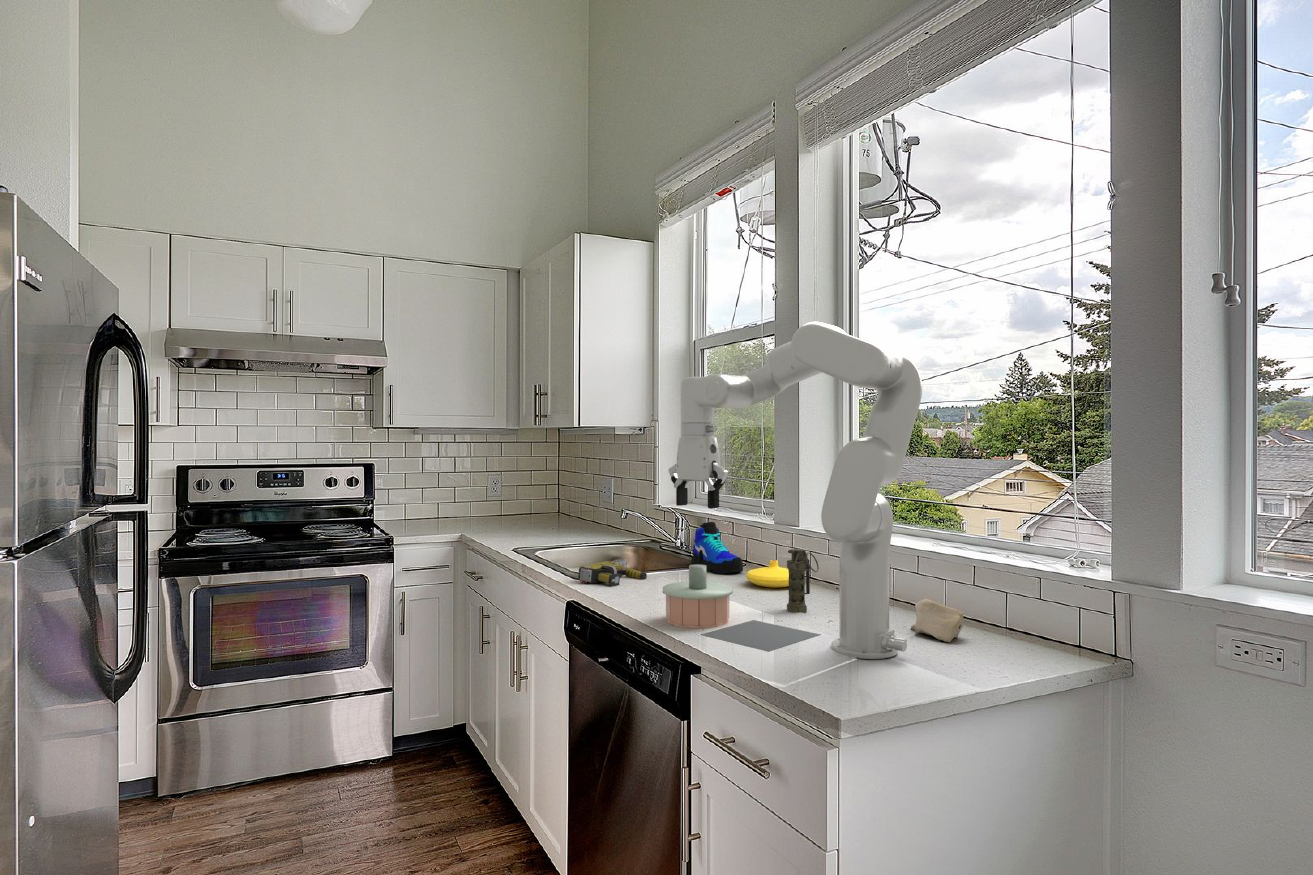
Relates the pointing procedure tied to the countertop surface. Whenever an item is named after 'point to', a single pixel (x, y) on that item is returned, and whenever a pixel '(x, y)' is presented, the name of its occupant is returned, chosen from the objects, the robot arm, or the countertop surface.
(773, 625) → the mat
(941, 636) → the decorative stone
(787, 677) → the countertop surface
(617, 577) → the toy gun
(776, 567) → the vase
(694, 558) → the sneaker
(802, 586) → the grenade
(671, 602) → the bowl
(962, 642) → the countertop surface
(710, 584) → the lid
